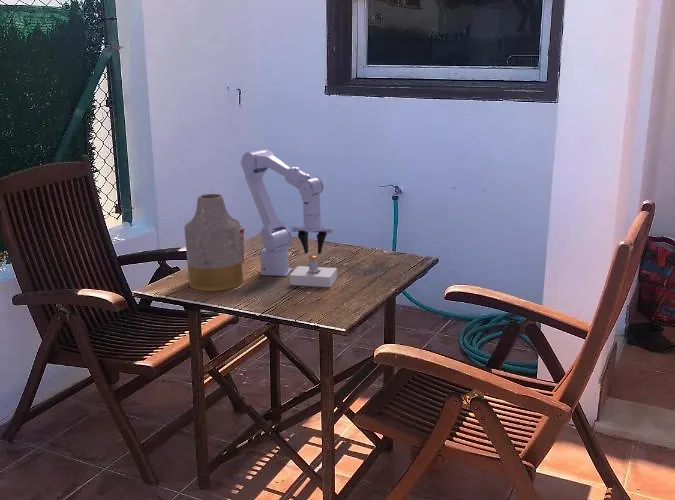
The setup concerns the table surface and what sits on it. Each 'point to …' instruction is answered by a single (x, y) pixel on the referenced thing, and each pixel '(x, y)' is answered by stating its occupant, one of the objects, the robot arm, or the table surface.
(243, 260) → the mug
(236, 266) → the vase
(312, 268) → the pin
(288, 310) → the table surface
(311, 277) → the block
